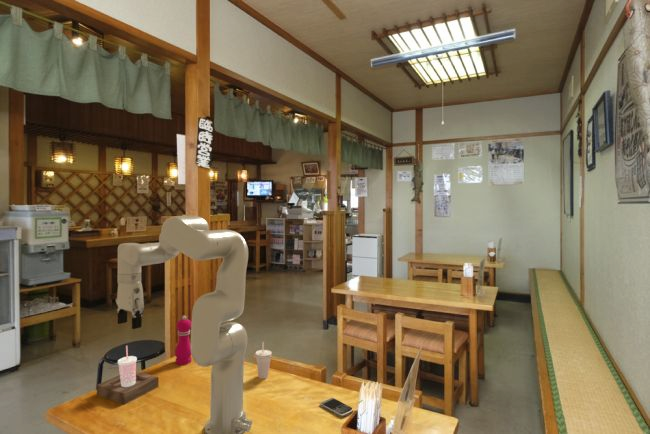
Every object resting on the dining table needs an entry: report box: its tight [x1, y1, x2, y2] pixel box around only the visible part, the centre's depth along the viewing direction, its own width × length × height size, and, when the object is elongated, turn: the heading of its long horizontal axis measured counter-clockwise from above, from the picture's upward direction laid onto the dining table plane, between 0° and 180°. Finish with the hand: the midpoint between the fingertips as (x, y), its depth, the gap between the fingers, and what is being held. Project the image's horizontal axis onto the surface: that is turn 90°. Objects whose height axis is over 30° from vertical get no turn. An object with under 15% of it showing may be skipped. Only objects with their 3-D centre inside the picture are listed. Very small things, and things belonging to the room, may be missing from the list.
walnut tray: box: [96, 370, 160, 405], centre depth 137 cm, size 14×14×4 cm
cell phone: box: [319, 397, 354, 418], centre depth 128 cm, size 6×11×1 cm, turn 44°
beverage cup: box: [117, 345, 138, 387], centre depth 136 cm, size 6×6×14 cm
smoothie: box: [254, 341, 273, 380], centre depth 150 cm, size 6×6×14 cm
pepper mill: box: [174, 315, 192, 366], centre depth 163 cm, size 7×7×20 cm
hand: (129, 325), depth 136 cm, fingers open, 9 cm apart
